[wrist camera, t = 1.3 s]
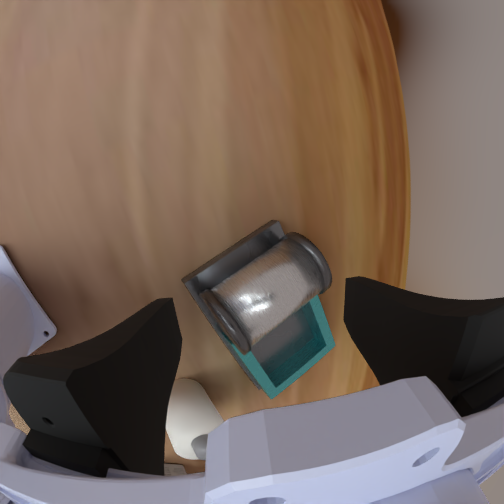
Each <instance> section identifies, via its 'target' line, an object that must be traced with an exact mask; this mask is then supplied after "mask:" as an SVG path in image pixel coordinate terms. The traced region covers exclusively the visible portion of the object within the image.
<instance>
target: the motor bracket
mask: <svg viewBox="0 0 504 504" xmlns="http://www.w3.org/2000/svg"><path fill="white" fill-rule="evenodd" d="M181 280H182V281H183V283H184V285H185V286H186V288H187V289H188V291H189V292H190V294H191V295H192V297H193V299H194V300H195V302H196V303H197V305H198V306H199V308H200V309H201V311H202V312H203V314H204V315H205V317H206V318H207V320H208V321H209V323H210V324H211V325H212V327H213V328H214V330H215V331H216V333H217V334H218V336H219V337H220V338H221V340H222V341H223V343H224V344H225V346H226V347H227V348H228V350H229V351H230V353H231V354H232V355H233V357H234V358H235V359H236V361H237V362H238V364H239V365H240V366H241V368H242V369H243V370H244V372H245V373H246V374H247V376H248V377H249V378H250V380H251V381H252V382H253V384H254V385H255V386H256V387H257V388H258V389H259V390H260V389H262V390H263V391H264V392H265V393H266V394H267V395H268V397H269V398H270V399H273V398H274V397H275V396H277V395H278V394H279V393H280V392H282V391H283V390H284V389H286V388H287V387H288V386H289V385H290V384H292V383H293V382H294V381H295V380H297V379H298V378H299V377H300V376H301V375H303V374H304V373H305V372H306V371H307V370H309V369H310V368H311V367H312V366H313V365H314V364H315V363H317V362H318V361H319V360H320V359H321V358H322V357H323V356H324V355H326V354H327V353H328V352H329V351H330V350H331V349H332V348H333V347H334V346H335V342H334V339H333V336H332V333H331V331H330V328H329V325H328V322H327V319H326V316H325V314H324V311H323V308H322V305H321V302H320V300H319V297H318V294H322V293H324V292H325V291H326V290H327V289H328V288H329V287H330V286H331V284H332V275H331V271H330V268H329V266H328V264H327V261H326V260H325V258H324V256H323V255H322V253H321V252H320V251H319V249H318V248H317V247H316V246H315V245H314V244H313V243H312V242H311V241H310V240H309V239H307V238H306V237H304V236H303V235H301V234H299V233H296V232H289V233H287V234H286V235H284V232H283V230H282V228H281V225H280V223H279V221H276V220H271V221H270V222H268V223H267V224H265V225H264V226H262V227H260V228H259V229H257V230H256V231H254V232H253V233H251V234H250V235H248V236H247V237H245V238H244V239H242V240H240V241H239V242H237V243H236V244H234V245H233V246H231V247H230V248H228V249H227V250H225V251H224V252H222V253H221V254H219V255H218V256H216V257H215V258H213V259H212V260H210V261H208V262H207V263H205V264H204V265H202V266H201V267H199V268H198V269H196V270H195V271H193V272H192V273H190V274H189V275H187V276H186V277H184V278H183V279H181Z"/></svg>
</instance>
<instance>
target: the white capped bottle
mask: <svg viewBox="0 0 504 504" xmlns="http://www.w3.org/2000/svg"><path fill="white" fill-rule="evenodd" d="M222 423H224V420H223V419H222V417H221V416H220V414H219V412H218V411H217V409H216V408H215V406H214V405H213V403H212V401H211V400H210V398H209V396H208V395H207V393H206V392H205V390H204V388H203V387H202V385H201V384H200V383H198V382H197V381H195V380H192V379H186V378H182V379H176V380H174V384H173V387H172V391H171V395H170V399H169V404H168V411H167V420H166V431H167V433H168V436H169V438H170V441H171V443H172V446H173V448H174V450H175V452H176V453H177V454H178V455H179V456H181V457H183V458H186V459H193V460H196V459H200V460H206V447H207V439H208V433H210V432H211V431H213V430H214V429H215V428H217V427H218V426H220V425H221V424H222Z"/></svg>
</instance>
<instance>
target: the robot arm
mask: <svg viewBox="0 0 504 504" xmlns="http://www.w3.org/2000/svg"><path fill="white" fill-rule="evenodd" d="M344 323H345V325H346V327H347V330H348V332H349V334H350V336H351V338H352V340H353V341H354V343H355V344H356V346H357V348H358V349H359V351H360V352H361V354H362V355H363V357H364V358H365V360H366V362H367V363H368V365H369V366H370V368H371V369H372V371H373V372H374V374H375V376H376V378H377V380H378V382H379V384H380V386H377V387H373V388H370V389H366V390H362V391H359V392H355V393H351V394H347V395H343V396H338V397H334V398H329V399H324V400H319V401H314V402H309V403H303V404H298V405H291V406H285V407H278V408H270V409H263V410H259V411H255V412H252V413H248V414H244V415H240V416H236V417H232V418H230V419H228V420H226V421H225V422H224V423H222V424H221V425H220V426H218V427H217V428H215V429H214V430H213V431H211V432H210V433H208V439H207V447H206V463H205V472H200V473H193V474H185V475H176V476H164V447H165V431H166V420H167V411H168V404H169V399H170V395H171V391H172V387H173V384H174V380H175V376H176V373H177V369H178V365H179V361H180V356H181V347H182V336H181V332H180V328H179V324H178V320H177V316H176V312H175V307H174V303H173V298H162V299H157V300H155V301H153V302H151V303H150V304H148V305H147V306H145V307H144V308H142V309H141V310H140V311H138V312H137V313H135V314H134V315H132V316H131V317H129V318H128V319H126V320H125V321H123V322H121V323H120V324H118V325H117V326H115V327H114V328H112V329H110V330H108V331H106V332H105V333H103V334H101V335H99V336H96V337H94V338H92V339H90V340H87V341H85V342H82V343H80V344H77V345H74V346H72V347H69V348H65V349H62V350H58V351H54V352H50V353H46V354H40V355H34V356H28V355H30V354H31V353H32V352H34V351H35V350H36V349H38V348H39V347H40V346H41V345H43V344H44V343H45V342H47V341H48V340H49V339H51V338H52V337H53V336H55V334H56V331H57V329H56V326H55V325H54V324H53V322H52V321H51V320H50V318H49V317H48V316H47V315H46V313H45V312H44V311H43V309H42V308H41V306H40V305H39V304H38V302H37V301H36V299H35V298H34V296H33V295H32V294H31V292H30V291H29V289H28V288H27V286H26V285H25V283H24V281H23V280H22V278H21V277H20V275H19V274H18V272H17V270H16V269H15V267H14V265H13V264H12V262H11V260H10V258H9V257H8V255H7V253H6V251H5V249H4V248H3V246H1V245H0V504H489V502H488V500H487V498H486V496H485V495H484V493H483V491H482V490H481V488H480V486H479V485H480V484H481V483H482V482H484V481H485V480H486V479H487V478H489V477H490V476H491V475H492V474H494V473H495V472H496V471H497V470H498V469H499V468H500V467H502V466H503V465H504V297H503V298H495V299H485V300H458V299H446V298H438V297H433V296H427V295H422V294H418V293H414V292H410V291H407V290H403V289H400V288H397V287H394V286H391V285H388V284H385V283H382V282H379V281H376V280H372V279H369V278H365V277H360V276H358V277H351V278H346V284H345V305H344ZM44 331H47V332H48V333H49V335H46V334H45V333H44ZM11 403H12V404H13V406H14V407H15V409H16V410H17V411H18V413H19V414H20V416H21V417H22V418H23V420H24V421H25V422H26V424H27V425H28V426H29V427H30V429H31V430H30V431H29V433H28V435H26V434H25V433H24V432H23V431H21V430H19V429H17V428H15V424H14V423H13V422H12V420H11V418H10V416H9V408H10V405H11Z"/></svg>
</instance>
